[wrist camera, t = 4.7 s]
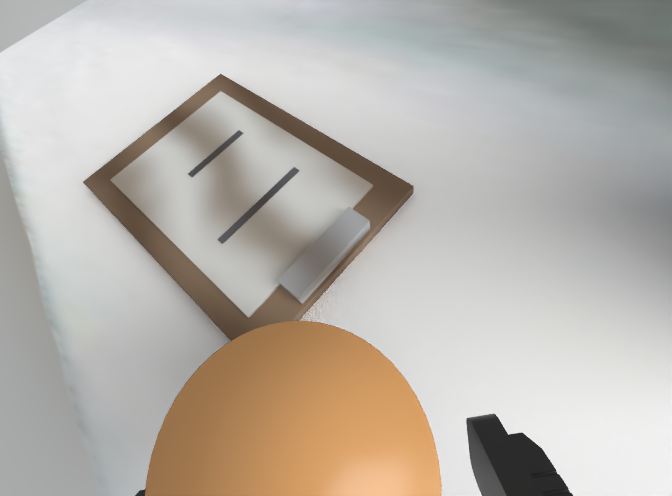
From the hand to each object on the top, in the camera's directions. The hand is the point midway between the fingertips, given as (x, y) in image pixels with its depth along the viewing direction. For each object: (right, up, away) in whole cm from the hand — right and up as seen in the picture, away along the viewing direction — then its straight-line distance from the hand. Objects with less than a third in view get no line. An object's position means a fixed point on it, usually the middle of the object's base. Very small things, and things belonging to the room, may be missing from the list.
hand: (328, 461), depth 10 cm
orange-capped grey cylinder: (+1, -3, +7) cm, 7 cm away
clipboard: (-7, +10, +14) cm, 19 cm away
